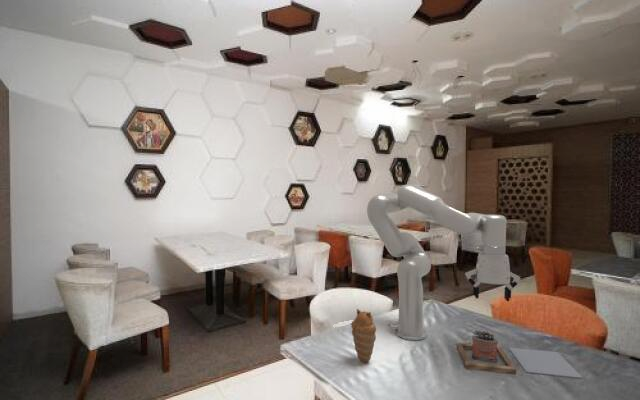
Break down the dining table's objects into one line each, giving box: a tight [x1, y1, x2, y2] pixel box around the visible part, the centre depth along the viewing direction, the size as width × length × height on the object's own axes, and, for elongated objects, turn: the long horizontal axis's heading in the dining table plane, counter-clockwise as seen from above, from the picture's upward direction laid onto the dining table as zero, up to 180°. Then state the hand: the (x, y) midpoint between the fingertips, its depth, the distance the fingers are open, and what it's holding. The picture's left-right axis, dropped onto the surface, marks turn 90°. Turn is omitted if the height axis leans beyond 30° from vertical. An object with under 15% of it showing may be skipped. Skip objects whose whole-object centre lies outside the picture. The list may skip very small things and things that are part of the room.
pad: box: [508, 347, 584, 380], centre depth 111 cm, size 16×16×1 cm
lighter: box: [471, 329, 499, 364], centre depth 113 cm, size 8×3×10 cm, turn 71°
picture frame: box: [456, 342, 517, 375], centre depth 113 cm, size 15×15×2 cm
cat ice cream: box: [350, 308, 377, 363], centre depth 112 cm, size 9×8×18 cm
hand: (491, 298), depth 114 cm, fingers open, 9 cm apart
